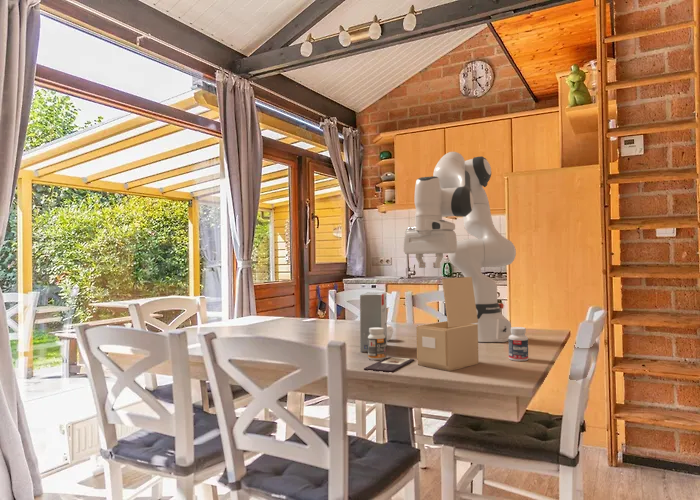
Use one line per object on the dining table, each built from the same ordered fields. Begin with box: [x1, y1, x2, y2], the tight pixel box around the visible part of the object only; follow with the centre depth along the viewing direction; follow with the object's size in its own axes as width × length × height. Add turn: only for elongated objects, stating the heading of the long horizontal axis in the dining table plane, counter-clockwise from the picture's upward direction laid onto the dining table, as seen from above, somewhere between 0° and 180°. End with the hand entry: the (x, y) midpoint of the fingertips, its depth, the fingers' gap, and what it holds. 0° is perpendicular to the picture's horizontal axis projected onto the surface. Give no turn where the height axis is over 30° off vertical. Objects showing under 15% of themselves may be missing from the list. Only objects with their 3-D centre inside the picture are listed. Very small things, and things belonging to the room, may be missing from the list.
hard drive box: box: [359, 291, 388, 353], centre depth 190 cm, size 16×8×20 cm, turn 168°
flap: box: [441, 276, 478, 327], centre depth 157 cm, size 14×1×14 cm, turn 131°
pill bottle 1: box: [367, 327, 387, 361], centre depth 171 cm, size 6×6×10 cm
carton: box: [415, 320, 480, 372], centre depth 161 cm, size 15×12×12 cm
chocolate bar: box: [363, 356, 415, 373], centre depth 161 cm, size 9×1×18 cm
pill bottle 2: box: [508, 326, 529, 362], centre depth 166 cm, size 6×6×10 cm
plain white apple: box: [387, 324, 394, 342], centre depth 207 cm, size 7×7×8 cm
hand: (429, 267), depth 172 cm, fingers open, 5 cm apart
